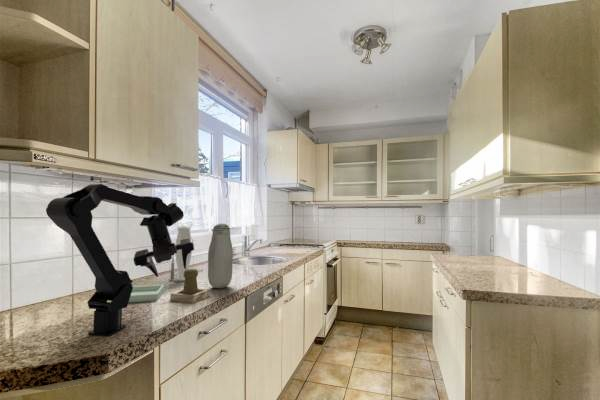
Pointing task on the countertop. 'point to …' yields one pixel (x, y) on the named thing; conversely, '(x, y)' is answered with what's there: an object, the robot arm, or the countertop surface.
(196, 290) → the cork
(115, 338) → the countertop surface
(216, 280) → the grey bottle
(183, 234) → the skyscraper
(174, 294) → the wooden collar
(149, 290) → the sage green tray
